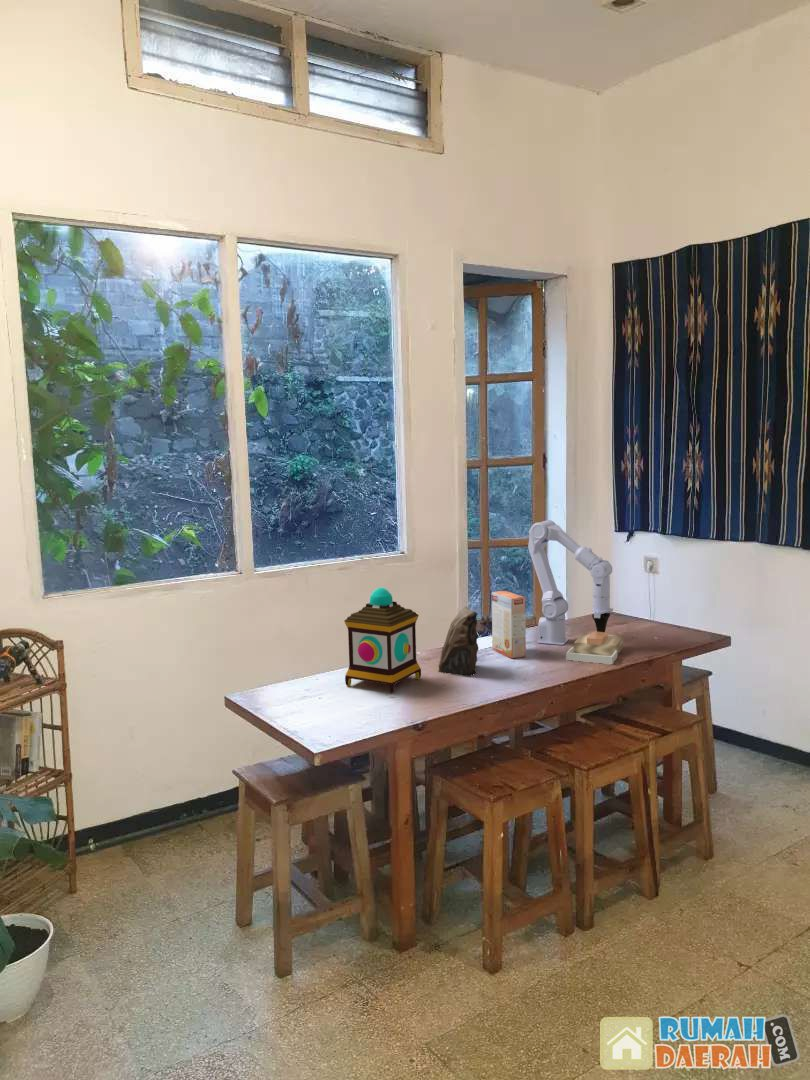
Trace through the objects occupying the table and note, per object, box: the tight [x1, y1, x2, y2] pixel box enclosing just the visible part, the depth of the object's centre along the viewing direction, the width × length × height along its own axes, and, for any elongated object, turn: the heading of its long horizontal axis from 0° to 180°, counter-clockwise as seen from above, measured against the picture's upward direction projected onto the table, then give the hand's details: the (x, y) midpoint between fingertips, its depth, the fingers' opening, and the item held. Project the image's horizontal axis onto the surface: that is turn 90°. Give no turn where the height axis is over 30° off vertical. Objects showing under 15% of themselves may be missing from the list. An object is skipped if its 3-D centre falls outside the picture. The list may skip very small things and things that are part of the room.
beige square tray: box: [573, 632, 624, 656], centre depth 285 cm, size 14×14×4 cm
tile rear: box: [590, 630, 609, 641], centre depth 284 cm, size 5×5×2 cm
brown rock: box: [437, 605, 479, 677], centre depth 264 cm, size 13×13×20 cm
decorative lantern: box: [344, 587, 422, 694], centre depth 253 cm, size 20×20×30 cm
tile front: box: [587, 635, 605, 645], centre depth 280 cm, size 5×5×2 cm
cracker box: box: [491, 590, 527, 659], centre depth 283 cm, size 14×6×21 cm, turn 22°
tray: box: [565, 646, 618, 665], centre depth 274 cm, size 15×9×2 cm, turn 65°
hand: (601, 634), depth 287 cm, fingers closed
